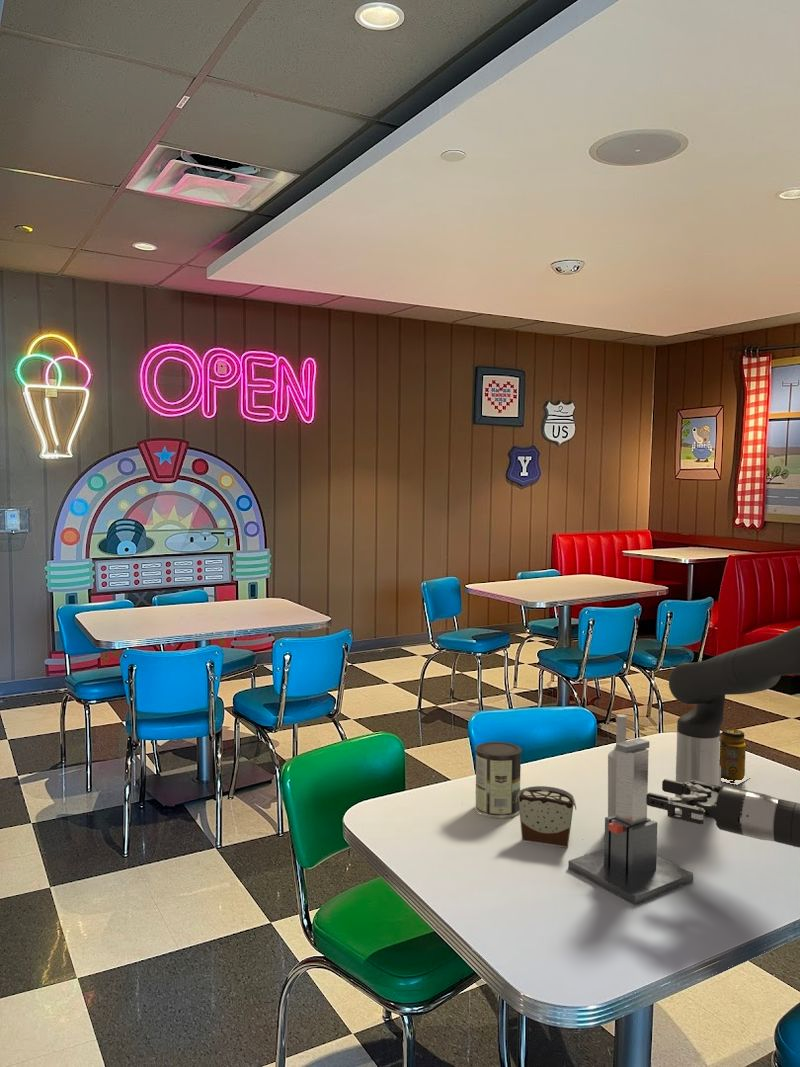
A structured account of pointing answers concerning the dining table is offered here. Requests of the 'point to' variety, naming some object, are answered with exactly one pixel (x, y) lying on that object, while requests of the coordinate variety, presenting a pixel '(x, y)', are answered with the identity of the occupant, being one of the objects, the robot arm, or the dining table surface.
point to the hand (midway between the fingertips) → (655, 791)
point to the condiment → (732, 754)
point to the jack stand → (630, 863)
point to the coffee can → (497, 779)
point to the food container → (545, 815)
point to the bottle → (615, 763)
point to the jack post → (632, 782)
